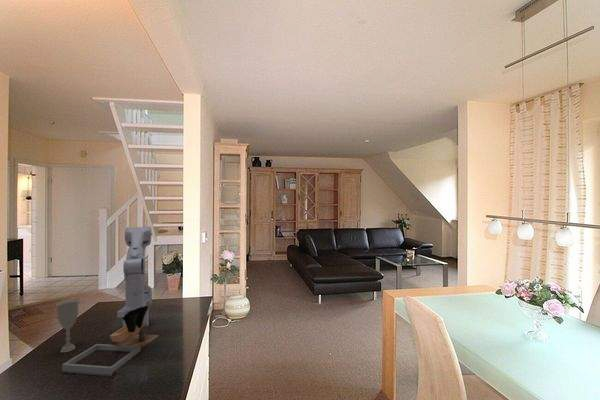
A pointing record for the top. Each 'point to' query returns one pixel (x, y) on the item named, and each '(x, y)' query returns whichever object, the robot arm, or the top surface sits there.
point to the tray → (99, 370)
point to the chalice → (67, 319)
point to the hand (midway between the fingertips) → (135, 329)
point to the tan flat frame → (123, 333)
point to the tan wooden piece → (138, 339)
